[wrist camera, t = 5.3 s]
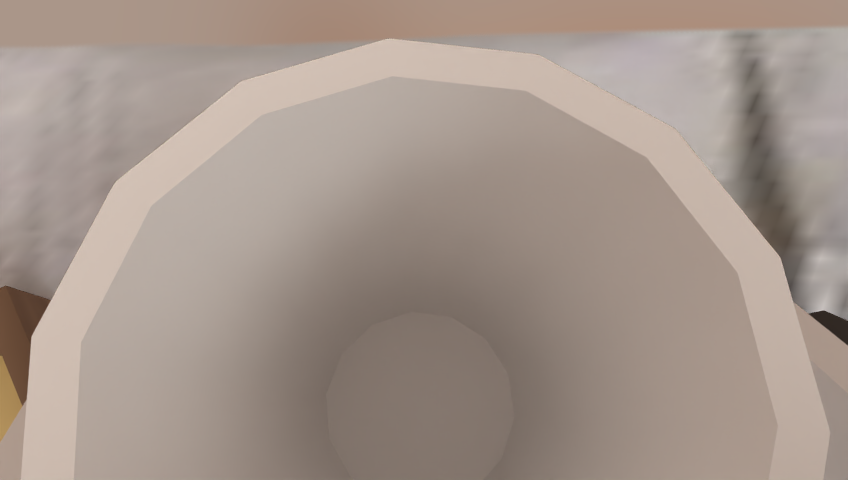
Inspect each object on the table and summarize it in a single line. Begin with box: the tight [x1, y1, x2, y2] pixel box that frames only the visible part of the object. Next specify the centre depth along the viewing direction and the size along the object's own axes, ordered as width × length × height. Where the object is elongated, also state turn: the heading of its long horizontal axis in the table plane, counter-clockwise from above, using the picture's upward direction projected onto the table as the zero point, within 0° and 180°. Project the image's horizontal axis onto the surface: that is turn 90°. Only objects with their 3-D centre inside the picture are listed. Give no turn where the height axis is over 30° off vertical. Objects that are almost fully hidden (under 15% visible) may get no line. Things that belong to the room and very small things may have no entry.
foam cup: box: [21, 38, 830, 480], centre depth 13 cm, size 10×9×13 cm
